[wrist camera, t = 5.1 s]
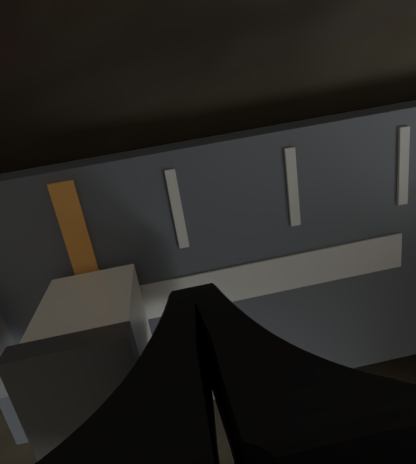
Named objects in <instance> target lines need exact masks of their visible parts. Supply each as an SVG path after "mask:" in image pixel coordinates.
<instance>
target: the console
mask: <svg viewBox="0 0 416 464" xmlns="http://www.w3.org/2000/svg"><path fill="white" fill-rule="evenodd" d="M129 264H134V266H135V270H136V274H137V278H138V282H139V286H140V290H141V294H142V298H143V302H144V306H145V310H146V314H147V318H148V322H149V326H150V330H151V334H152V335H153V333H154V331H155V329H156V326H157V324H158V322H159V320H160V318H161V316H162V313H163V311H164V308H165V306H166V303H167V300H168V296H169V294H170V293H171V292H172V291H174V290H179V289H184V288H189V287H194V286H199V285H204V284H209V283H213V284H214V285H216V286H217V287H218V288H219V290H220V291H221V292H222V293H223V294H224V295H225V296H226V297H227V298H228V299H229V300H230V301H231V302H232V303H234V304H235V305H236V306H237V307H238V308H239V309H240V310H242V311H243V312H244V313H245V314H246V315H248V316H249V317H250V318H252V319H253V320H254V321H255V322H257V323H258V324H260V325H261V326H262V327H264V328H265V329H267V330H268V331H270V332H271V333H273V334H274V335H276V336H278V337H280V338H282V339H283V340H285V341H287V342H289V343H291V344H293V345H295V346H297V347H299V348H301V349H303V350H305V351H308V352H310V353H312V354H315V355H317V356H319V357H322V358H324V359H327V360H329V361H332V362H335V363H338V364H340V365H344V366H347V367H350V368H357V367H361V366H366V365H370V364H374V363H379V362H383V361H388V360H392V359H396V358H401V357H405V356H410V355H414V354H416V100H412V101H407V102H401V103H395V104H390V105H384V106H378V107H373V108H367V109H362V110H356V111H350V112H345V113H339V114H333V115H328V116H322V117H316V118H311V119H305V120H300V121H294V122H288V123H283V124H277V125H271V126H266V127H260V128H255V129H249V130H243V131H238V132H232V133H226V134H221V135H215V136H209V137H204V138H198V139H193V140H187V141H181V142H176V143H170V144H164V145H159V146H153V147H147V148H142V149H136V150H131V151H125V152H119V153H114V154H108V155H102V156H97V157H91V158H85V159H80V160H74V161H69V162H63V163H57V164H52V165H46V166H40V167H35V168H29V169H24V170H18V171H12V172H7V173H1V174H0V356H1V355H2V353H3V351H4V349H5V347H6V346H11V345H16V344H19V343H20V341H21V339H22V337H23V335H24V333H25V331H26V329H27V327H28V325H29V323H30V321H31V320H32V318H33V316H34V314H35V312H36V310H37V308H38V306H39V304H40V302H41V300H42V298H43V296H44V294H45V292H46V290H47V289H48V287H49V285H50V283H51V281H52V280H54V279H59V278H64V277H69V276H74V275H79V274H84V273H89V272H94V271H99V270H104V269H109V268H114V267H119V266H124V265H129ZM212 394H213V391H212ZM213 400H215V397H214V394H213ZM0 408H1V411H2V413H3V415H4V417H5V419H6V422H7V424H8V426H9V428H10V430H11V433H12V435H13V437H14V439H15V441H16V444H17V445H18V444H22V443H27V442H29V441H28V439H27V437H26V435H25V432H24V430H23V428H22V425H21V423H20V421H19V419H18V416H17V414H16V412H15V409H14V407H13V405H12V403H11V400H10V398H9V396H8V393H7V391H6V389H5V387H4V384H3V382H2V380H1V377H0Z"/></svg>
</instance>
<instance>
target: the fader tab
mask: <svg viewBox="0 0 416 464" xmlns="http://www.w3.org/2000/svg"><path fill="white" fill-rule="evenodd" d="M151 336H152V334H151V330H150V326H149V322H148V318H147V314H146V310H145V306H144V302H143V298H142V294H141V290H140V286H139V282H138V278H137V274H136V270H135V266H134V264H129V265H124V266H119V267H114V268H109V269H104V270H99V271H94V272H89V273H84V274H79V275H74V276H69V277H64V278H59V279H54V280H52V281H51V283H50V285H49V287H48V289H47V290H46V292H45V294H44V296H43V298H42V300H41V302H40V304H39V306H38V308H37V310H36V312H35V314H34V316H33V318H32V320H31V321H30V323H29V325H28V327H27V329H26V331H25V333H24V335H23V337H22V339H21V341H20V343H19V344H16V345H11V346H6V347H5V349H4V351H3V353H2V355H1V356H0V377H1V380H2V382H3V384H4V387H5V389H6V391H7V393H8V396H9V398H10V400H11V403H12V405H13V407H14V409H15V412H16V414H17V416H18V419H19V421H20V423H21V425H22V428H23V430H24V432H25V435H26V437H27V439H28V441H29V444H30V446H31V448H32V451H33V453H34V455H35V457H36V460H37V462H38V461H39V460H40V459H42V458H43V457H44V456H45V455H47V454H48V453H49V452H50V451H52V450H53V449H54V448H55V447H57V446H58V445H59V444H60V443H62V442H63V441H64V440H65V439H66V438H67V437H69V436H70V435H71V434H72V433H73V432H74V431H75V430H76V429H77V428H78V427H80V426H81V425H82V424H83V423H84V422H85V421H86V420H87V419H88V418H89V417H90V416H91V415H92V414H93V413H94V412H95V411H96V410H97V409H98V408H99V407H100V406H101V405H102V404H103V403H104V402H105V401H106V399H107V398H108V397H109V396H110V395H111V394H112V393H113V392H114V390H115V389H116V388H117V387H118V386H119V385H120V384H121V382H122V381H123V380H124V378H125V377H126V376H127V374H128V373H129V372H130V370H131V369H132V367H133V366H134V365H135V363H136V362H137V360H138V359H139V357H140V355H141V354H142V352H143V350H144V349H145V347H146V345H147V343H148V342H149V340H150V338H151Z"/></svg>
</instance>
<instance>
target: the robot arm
mask: <svg viewBox="0 0 416 464" xmlns="http://www.w3.org/2000/svg"><path fill="white" fill-rule="evenodd" d="M212 391H213V394H214V397H215V401H216V404H217V407H218V410H219V413H220V417H221V420H222V423H223V426H224V429H225V432H226V436H227V439H228V442H229V445H230V448H231V452H232V456H233V459H234V463H235V464H416V384H412V383H407V382H403V381H399V380H395V379H390V378H386V377H382V376H378V375H373V374H369V373H366V372H362V371H359V370H356V369H353V368H350V367H347V366H344V365H340V364H338V363H335V362H332V361H329V360H327V359H324V358H322V357H319V356H317V355H315V354H312V353H310V352H308V351H305V350H303V349H301V348H299V347H297V346H295V345H293V344H291V343H289V342H287V341H285V340H283V339H282V338H280V337H278V336H276V335H274V334H273V333H271V332H270V331H268V330H267V329H265V328H264V327H262V326H261V325H260V324H258V323H257V322H255V321H254V320H253V319H252V318H250V317H249V316H248V315H246V314H245V313H244V312H243V311H242V310H240V309H239V308H238V307H237V306H236V305H235V304H234V303H232V302H231V301H230V300H229V299H228V298H227V297H226V296H225V295H224V294H223V293H222V292H221V291H220V290H219V288H218V287H217V286H216V285H214V284H213V283H209V284H204V285H199V286H194V287H189V288H184V289H179V290H174V291H172V292H171V293H170V294H169V296H168V300H167V303H166V306H165V308H164V311H163V313H162V316H161V318H160V320H159V322H158V324H157V326H156V329H155V331H154V333H153V335H152V336H151V338H150V340H149V342H148V343H147V345H146V347H145V349H144V350H143V352H142V354H141V355H140V357H139V359H138V360H137V362H136V363H135V365H134V366H133V367H132V369H131V370H130V372H129V373H128V374H127V376H126V377H125V378H124V380H123V381H122V382H121V384H120V385H119V386H118V387H117V388H116V389H115V390H114V392H113V393H112V394H111V395H110V396H109V397H108V398H107V399H106V401H105V402H104V403H103V404H102V405H101V406H100V407H99V408H98V409H97V410H96V411H95V412H94V413H93V414H92V415H91V416H90V417H89V418H88V419H87V420H86V421H85V422H84V423H83V424H82V425H81V426H80V427H78V428H77V429H76V430H75V431H74V432H73V433H72V434H71V435H70V436H69V437H67V438H66V439H65V440H64V441H63V442H62V443H60V444H59V445H58V446H57V447H55V448H54V449H53V450H52V451H50V452H49V453H48V454H47V455H45V456H44V457H43V458H42V459H40V460H39V461H38V462H36V463H35V464H220V463H219V455H218V446H217V436H216V425H215V415H214V404H213V394H212Z"/></svg>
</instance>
